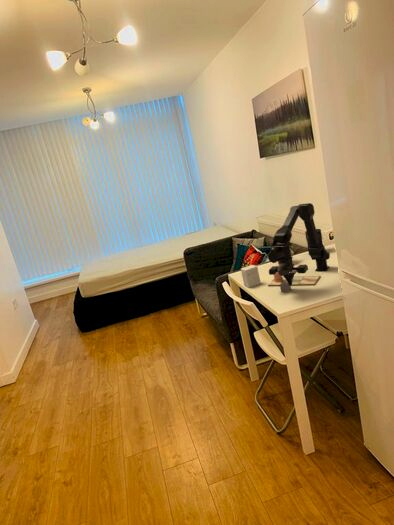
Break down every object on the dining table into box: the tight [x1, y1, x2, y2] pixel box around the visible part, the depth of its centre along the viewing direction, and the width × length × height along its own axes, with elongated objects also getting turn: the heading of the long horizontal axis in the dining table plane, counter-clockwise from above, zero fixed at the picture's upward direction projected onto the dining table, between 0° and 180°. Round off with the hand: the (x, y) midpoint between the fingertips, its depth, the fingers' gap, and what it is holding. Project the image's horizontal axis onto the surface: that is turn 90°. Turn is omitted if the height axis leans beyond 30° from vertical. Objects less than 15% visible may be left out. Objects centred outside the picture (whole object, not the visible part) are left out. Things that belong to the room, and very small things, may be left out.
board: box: [267, 275, 321, 287], centre depth 208 cm, size 12×26×1 cm, turn 58°
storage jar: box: [304, 228, 324, 253], centre depth 246 cm, size 10×10×15 cm
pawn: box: [273, 272, 283, 282], centre depth 212 cm, size 5×5×8 cm
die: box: [279, 282, 292, 293], centre depth 198 cm, size 4×4×4 cm
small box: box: [240, 264, 262, 289], centre depth 217 cm, size 8×6×10 cm
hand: (290, 285), depth 196 cm, fingers closed
